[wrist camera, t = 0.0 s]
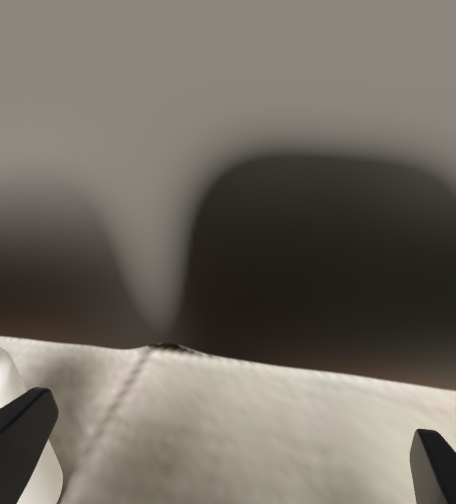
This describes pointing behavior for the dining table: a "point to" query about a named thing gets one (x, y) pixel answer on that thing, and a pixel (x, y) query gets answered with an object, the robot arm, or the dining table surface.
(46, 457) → the can
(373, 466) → the dining table surface
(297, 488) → the dining table surface
